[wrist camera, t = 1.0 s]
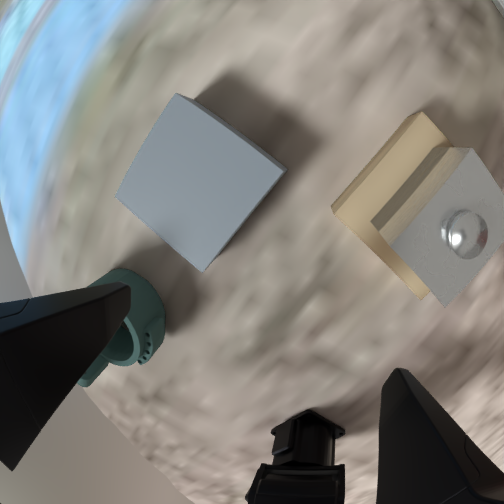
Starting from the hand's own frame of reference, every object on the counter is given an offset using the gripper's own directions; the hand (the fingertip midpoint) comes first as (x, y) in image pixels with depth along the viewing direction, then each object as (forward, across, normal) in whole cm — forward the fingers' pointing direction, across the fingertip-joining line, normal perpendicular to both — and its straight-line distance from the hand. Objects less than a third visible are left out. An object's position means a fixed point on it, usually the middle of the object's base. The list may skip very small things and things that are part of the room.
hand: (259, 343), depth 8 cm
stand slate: (+14, +8, -2) cm, 16 cm away
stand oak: (+14, -8, -5) cm, 16 cm away
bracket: (+14, +13, +12) cm, 22 cm away
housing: (+10, -8, -5) cm, 14 cm away
